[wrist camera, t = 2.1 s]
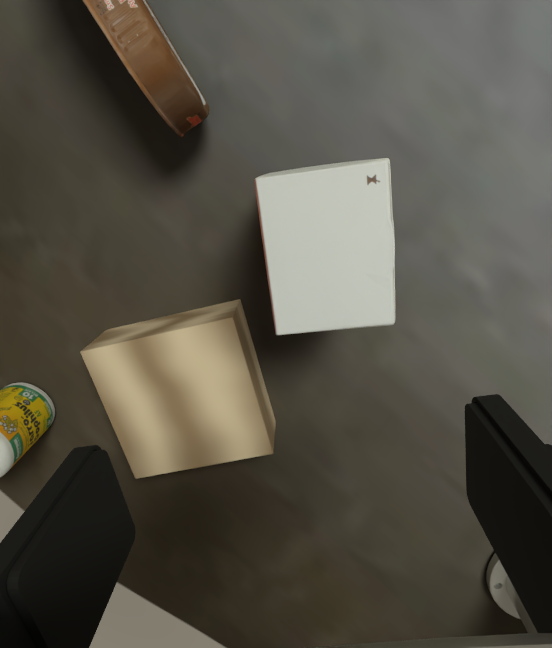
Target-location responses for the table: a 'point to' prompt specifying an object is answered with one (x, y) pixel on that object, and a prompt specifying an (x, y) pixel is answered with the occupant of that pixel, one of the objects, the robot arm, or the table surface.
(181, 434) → the birch block
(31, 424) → the supplement bottle
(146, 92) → the tin
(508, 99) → the table surface
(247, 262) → the table surface
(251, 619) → the table surface
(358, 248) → the small box
